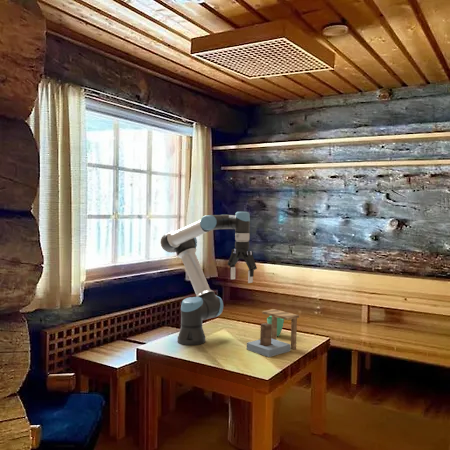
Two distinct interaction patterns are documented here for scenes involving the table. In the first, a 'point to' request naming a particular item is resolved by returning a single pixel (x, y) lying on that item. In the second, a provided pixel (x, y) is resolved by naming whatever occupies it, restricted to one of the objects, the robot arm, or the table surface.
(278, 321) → the green tapered vase
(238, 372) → the table surface
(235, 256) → the robot arm
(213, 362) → the table surface
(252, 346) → the socket block
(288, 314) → the wooden arch frame
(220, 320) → the table surface
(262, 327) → the peg
